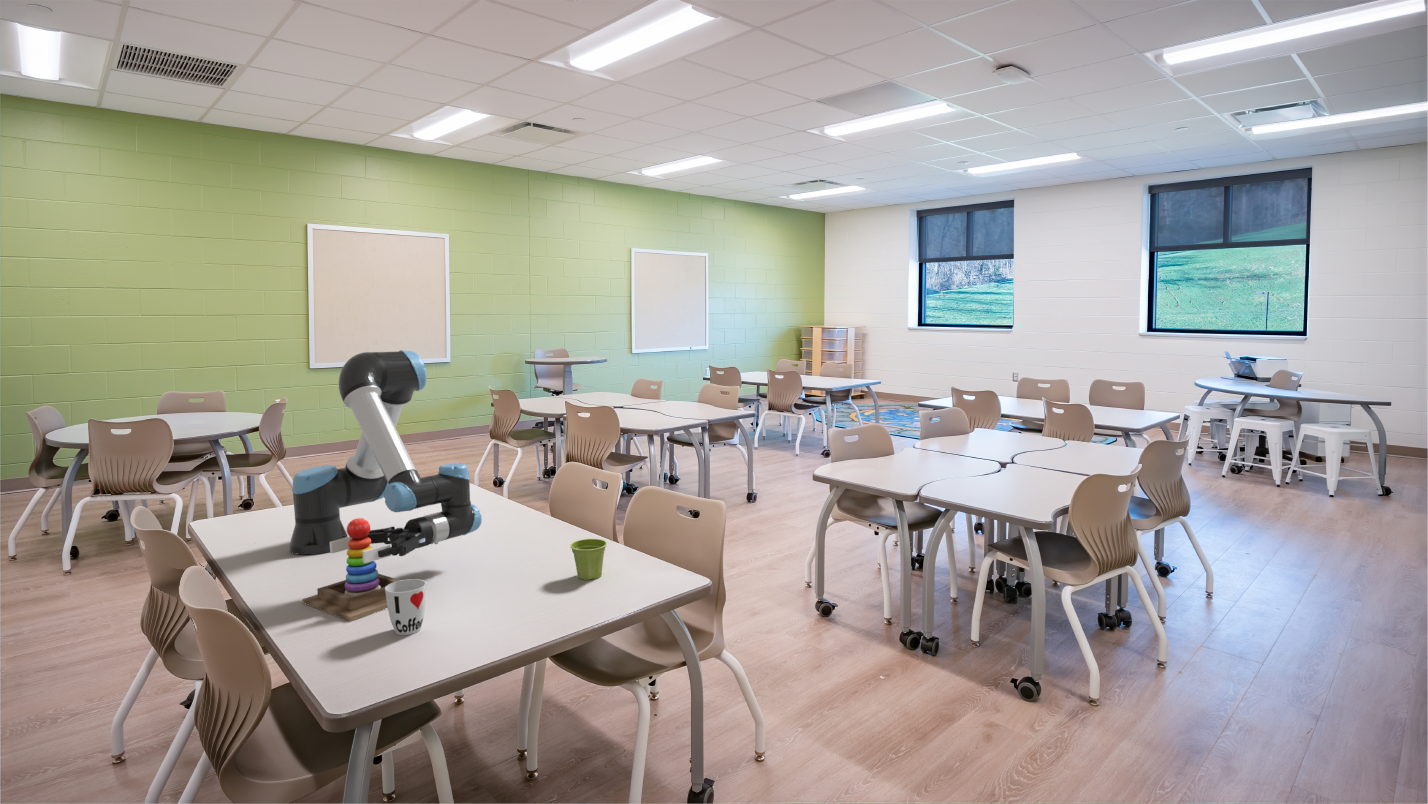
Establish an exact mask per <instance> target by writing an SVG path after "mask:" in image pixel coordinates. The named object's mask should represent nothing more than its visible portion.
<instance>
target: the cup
mask: <svg viewBox="0 0 1428 804" xmlns="http://www.w3.org/2000/svg"><path fill="white" fill-rule="evenodd" d="M385 592H386V600H387V611H388V616H389V619H390V623H391V626H392V628H393V631H394V633H395V634H396V635H398V636H410V635H413V634H416V633H418V632H420V631H421V629H422V625H423V622H424V618H425V611H426V603H427V582H426V581H425V580H424V579H419V578H408V579H401V581H396V582H393V583H391V584H389V585H387V586H386V587H385Z"/></svg>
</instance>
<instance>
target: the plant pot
mask: <svg viewBox="0 0 1428 804" xmlns="http://www.w3.org/2000/svg"><path fill="white" fill-rule="evenodd" d="M607 545H608V542H607V541H606V540H604V539H600V538H584V539H579V540H574V541H573V542H571V543H570V544H569V547H570V549H571V551H572V554H573V558H574V563H575V567H576V569H575V570H576V573H577V574H576V575H577V578H578V579H580V580H584V581H591V579H594V580H596V579H599V578H601V577H602V574H603V565H604V554H605V551H606V547H607Z"/></svg>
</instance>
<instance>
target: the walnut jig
mask: <svg viewBox="0 0 1428 804" xmlns="http://www.w3.org/2000/svg"><path fill="white" fill-rule="evenodd" d="M377 578H378V579H379V584H378V585H380V587H381V588H380V589H377V590H374V591H371V592H368V593H365V594H362V595H359V596H356V597H351V596H348V595H346V594H344V593H345V591H346V589H345V583H346V582H347V580H346V579H344V580H340V581H337V582H335V583H331V584H329V585H325V586H322V587H318V588H317V589H316V591H317V594H313V595H311V596H308V597H305V598H302V603H303V602H304V603H306V604H305V605H307V604H309V605H311V606H310V607H312V606H313V607H312V608H314V607H316V608H315V609H317V608H319V609H318V610H320V609H321V610H320V611H322V610H324V611H323V612H325V611H326V612H325V613H327V614H330V613H331V614H330V615H333V616H335V615H336V617H338V616H339V617H338V618H341V619H343V618H344V619H343V620H346V621H348V620H349V622H353V621H356V620H359V619H362V618H365V617H367V615H368V616H370V615H372V613H373V614H375V613H374V612H376V613H379V612H381V611H384V610H386V609H385V608H387V600H386V592H385V587H386V586H387V585H389V584H391V583H393V582H396V581H401V580H402V579H401V580H400V579H397V578H394V577H391V576H388V575H384V574H383V573H382V574H381V573H378V576H377ZM304 603H303V604H304ZM309 605H308V606H309ZM383 609H384V610H383ZM387 609H388V608H387ZM380 610H381V611H380ZM378 611H379V612H378ZM364 616H365V617H364Z"/></svg>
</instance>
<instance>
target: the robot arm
mask: <svg viewBox="0 0 1428 804" xmlns="http://www.w3.org/2000/svg"><path fill="white" fill-rule="evenodd" d="M427 373H428V372H427V369H426V366H425V363H424V361H423V359H422V357H421V356H420V355H419V354H418V353H416V352H415V351H412V350H402V349H401V350H399V351H373V352H370V351H366V352H365V351H364V352H359V353H358V354H355V355H353V356H352V357H350V358H349V359H348V360H347V361H346V363H344V364H343V366H342V368H341V370H340V374H339V377H338V391H339V393H340V394H339V395H340V398H341V399H342V402H343V404H344V405H345V407H346V408H348V409H351V411H352V413H353V415H354V416H355V419H356V421H357V422H358V425H359V426H360V429H361V434H360V437H359V439H358V443H357V447H356V450H355V453H354V454H352V455H350V456H349V457H348V459H347V460H346V462H345V463H346V464H345V466H344V467H343V468H337V467H336V466H335V465H332V464H331V465H330V464H329V465H327V464H326V465H325V464H324V465H321V466H313V467H310V468H306V469H303V470H301V471H299V472H297V473H296V474H295V475H294V476H293V478H292V489H291V492H292V495H293V496H292V497H293V498H292V499H293V509H294V511H293V512H294V523H295V524H294V528H293V531H292V535H291V538H290V541H289V542H290V543H289V551H290V552H291V553H292V552H293V553H292V554H294V553H298V554H297V555H302V554H308V555H318V553H320V554H325V553H330V554H334V553H339V552H343V551H347V550H348V549H349V548H350V547H349V546H348V542H349V540H351V539H352V538H351V537H349V535H348V533H347V530H345V527H344V524H343V523H342V519H341V517H340V516H341V515H340V513H341V512H340V509H341V508H347V507H351V506H356V505H357V506H358V505H361V504H367V503H372V502H375V501H378V500H382V499H383V498H384V499H385V500H384V503H385V506H386V507H387V508H388V510H389V511H390V512H393V513H401V512H402V513H403V512H411V511H413V510H416V509H420V508H424V507H429V506H434V505H438V504H440V505H441V511H438V512H435V513H429V514H426V515H425V514H424V516H420V517H416V518H411V519H409V520H408V521H407V522H406V524H405V526H404V527H396V526H389V527H385V528H378V529H372V530H371V529H370V532H369V534H368V536H366V537H369V538H370V539H371V544H372V545H373V544H384V545H380V546H376V547H374V548H373V547H372V549H369V550H366V551H362V554H363V563H368V562H371V561H374V562H376V561H378V560H381V559H385V558H388V557H391V556H393V557H394V556H395V557H396V556H399V557H404V556H406V555H408V554H409V553H411V552H413V551H414V550H416V549H420V548H423V547H427V546H429V545H432V544H434V545H439V542H444V541H447V540H450V539H453V538H458V537H461V536H466V535H468V534H470V533H473V532H475V531H477V530H479V528H480V526H481V525H482V519H483V517H482V516H483V515H482V514H481V513H480V511H481V510H480V509H479V507H477V506H476V505H475V504H472V502H471V489H470V488H471V486H470V485H471V484H470V481H471V478H470V477H471V476H470V472H469V467H468V466H467V464H465V463H461V462H454V463H453V462H452V463H445V464H442V465H440V466H439V467H438V472H437V473H438V474H433V475H428V476H423V477H421V476H420V473H419V472H418V470H417V468H416V466H415V464H414V461H413V460H412V457H411V456H410V454H409V452H408V450H407V448H406V445H405V444H404V442H403V440H402V438H401V436H400V434H399V431H397V426H398V422H399V419H400V416H401V413H402V410H403V407H404V406H405V405H406V404H409V403H410V402H411V400H412V398H413V395H414V392H419V391H421V390H423V389H424V388H425V387H426V385H427V381H428V380H427V379H428V375H427ZM371 544H370V545H371Z"/></svg>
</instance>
